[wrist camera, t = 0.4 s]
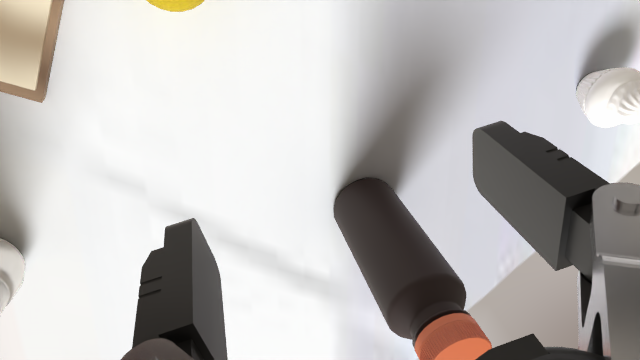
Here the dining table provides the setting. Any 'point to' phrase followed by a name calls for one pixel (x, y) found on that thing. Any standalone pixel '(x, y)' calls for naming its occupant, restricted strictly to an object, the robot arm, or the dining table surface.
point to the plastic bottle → (10, 272)
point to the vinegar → (407, 274)
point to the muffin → (610, 97)
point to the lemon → (175, 4)
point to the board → (28, 45)
